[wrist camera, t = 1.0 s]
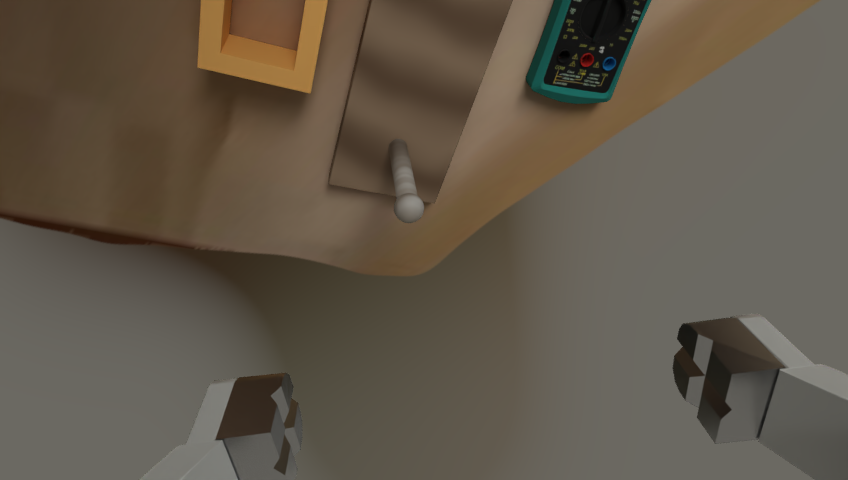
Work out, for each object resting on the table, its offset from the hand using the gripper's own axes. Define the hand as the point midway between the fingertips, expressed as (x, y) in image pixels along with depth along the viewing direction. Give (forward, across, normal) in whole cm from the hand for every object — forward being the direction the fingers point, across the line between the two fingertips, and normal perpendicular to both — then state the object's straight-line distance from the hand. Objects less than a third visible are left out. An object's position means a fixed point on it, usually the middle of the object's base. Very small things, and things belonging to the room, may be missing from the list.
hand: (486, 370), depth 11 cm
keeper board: (+36, -1, +1) cm, 36 cm away
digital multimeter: (+37, -15, -3) cm, 40 cm away
